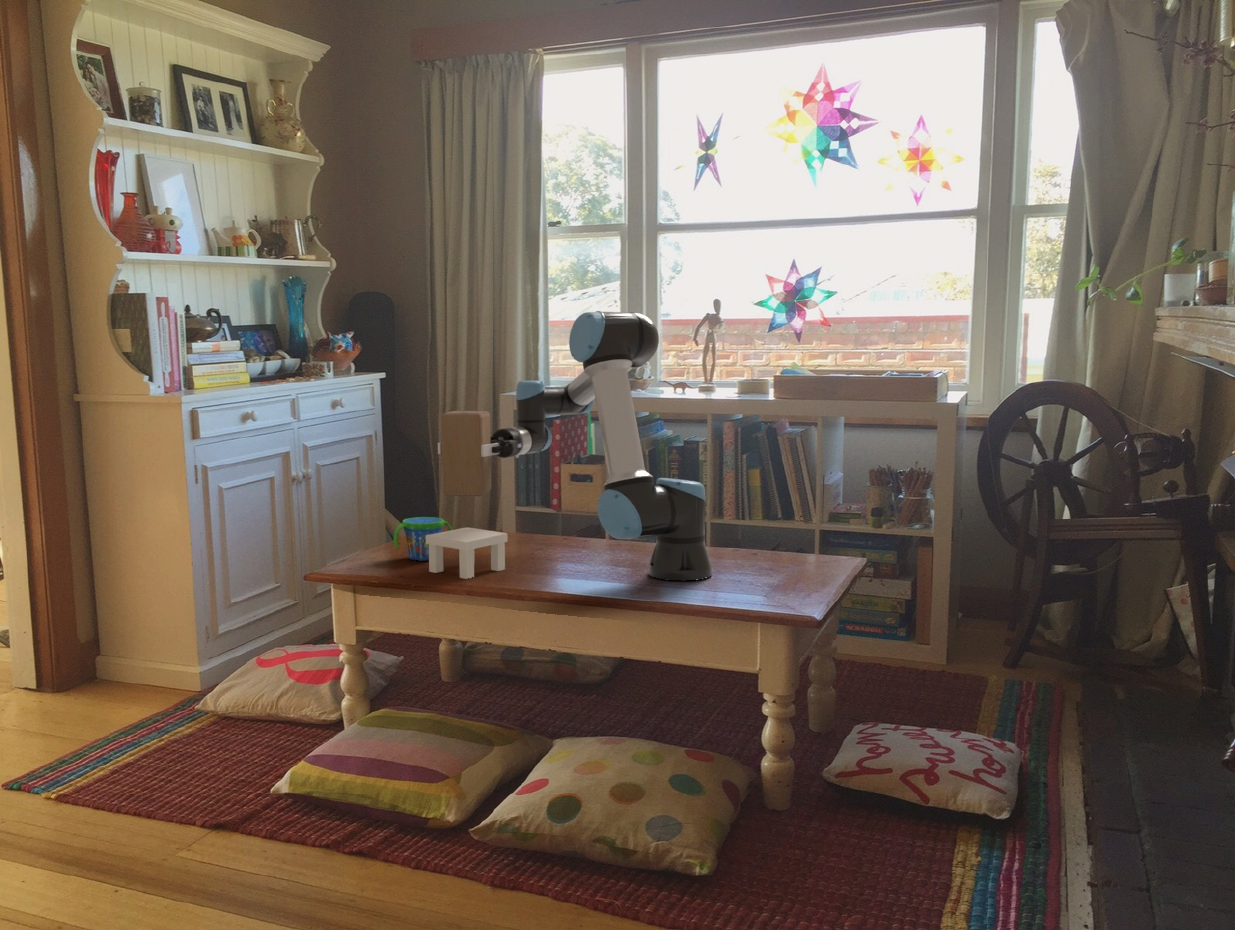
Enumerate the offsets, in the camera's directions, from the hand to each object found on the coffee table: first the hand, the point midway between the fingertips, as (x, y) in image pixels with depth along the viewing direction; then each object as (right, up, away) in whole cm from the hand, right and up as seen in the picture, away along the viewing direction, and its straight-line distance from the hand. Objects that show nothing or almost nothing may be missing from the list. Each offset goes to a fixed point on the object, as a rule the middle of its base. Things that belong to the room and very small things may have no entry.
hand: (460, 449), depth 247 cm
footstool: (+1, -30, +4) cm, 30 cm away
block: (+1, -11, +4) cm, 11 cm away
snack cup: (-12, -28, +18) cm, 35 cm away
